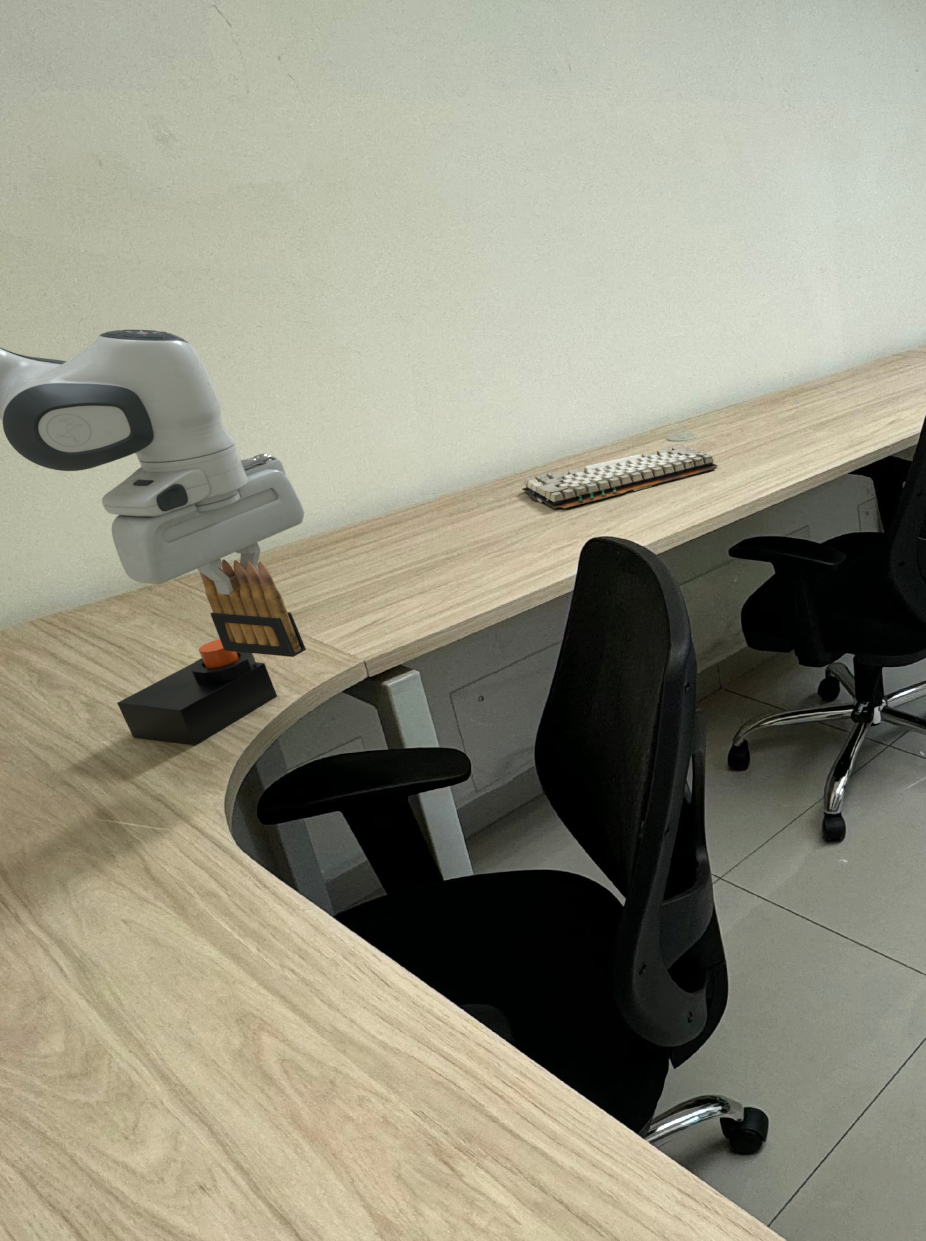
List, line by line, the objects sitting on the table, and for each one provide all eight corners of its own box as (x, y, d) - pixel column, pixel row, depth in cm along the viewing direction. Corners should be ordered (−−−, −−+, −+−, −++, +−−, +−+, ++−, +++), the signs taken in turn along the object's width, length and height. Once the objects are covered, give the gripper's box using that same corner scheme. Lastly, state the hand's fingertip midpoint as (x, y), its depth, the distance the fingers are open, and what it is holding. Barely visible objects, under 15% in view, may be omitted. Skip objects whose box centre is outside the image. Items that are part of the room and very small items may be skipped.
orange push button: (198, 668, 126) (191, 650, 125) (223, 654, 130) (216, 637, 129) (221, 670, 126) (213, 653, 125) (245, 657, 129) (238, 640, 128)
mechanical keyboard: (679, 452, 230) (677, 438, 229) (721, 469, 218) (719, 454, 216) (518, 493, 208) (514, 478, 206) (555, 515, 195) (551, 499, 193)
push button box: (133, 738, 124) (110, 690, 121) (220, 689, 135) (201, 644, 132) (197, 746, 122) (176, 697, 119) (280, 695, 133) (263, 650, 130)
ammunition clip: (223, 650, 121) (186, 560, 116) (236, 643, 122) (200, 554, 117) (294, 657, 118) (259, 565, 113) (306, 649, 120) (273, 559, 115)
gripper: (254, 448, 121) (291, 552, 126) (84, 504, 103) (137, 623, 109) (296, 449, 119) (332, 555, 125) (131, 507, 101) (182, 627, 107)
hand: (240, 587), depth 117 cm, fingers closed on ammunition clip, 1 cm apart
